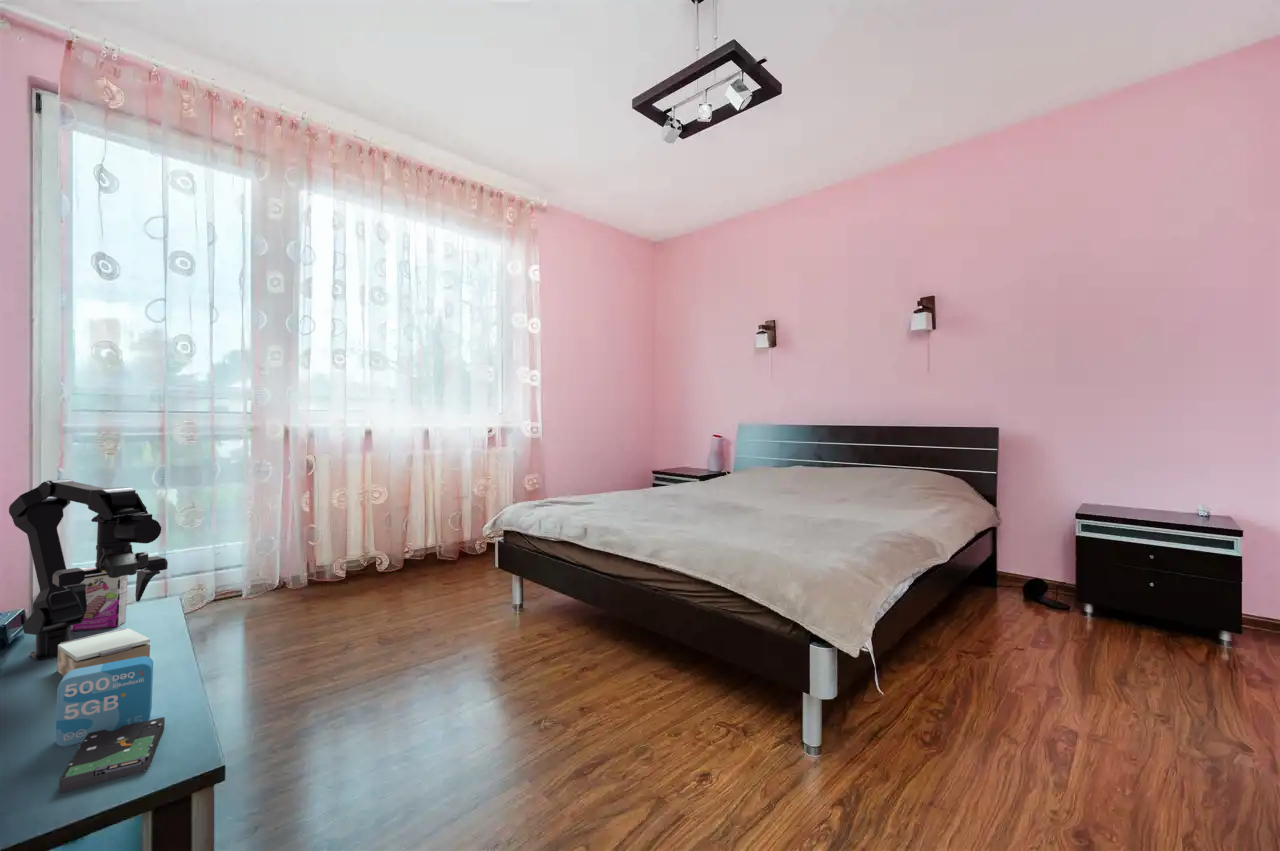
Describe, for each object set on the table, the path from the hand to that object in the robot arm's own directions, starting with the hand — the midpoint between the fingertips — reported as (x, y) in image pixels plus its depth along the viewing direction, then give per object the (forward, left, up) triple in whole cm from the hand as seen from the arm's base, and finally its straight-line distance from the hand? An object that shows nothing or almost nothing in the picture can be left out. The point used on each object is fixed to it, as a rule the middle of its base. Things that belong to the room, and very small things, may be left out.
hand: (111, 606), depth 125 cm
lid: (+4, -2, -8) cm, 9 cm away
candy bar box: (-32, +5, -13) cm, 35 cm away
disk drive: (+51, -11, -14) cm, 54 cm away
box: (+4, -2, -13) cm, 14 cm away
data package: (+39, -10, -13) cm, 42 cm away
